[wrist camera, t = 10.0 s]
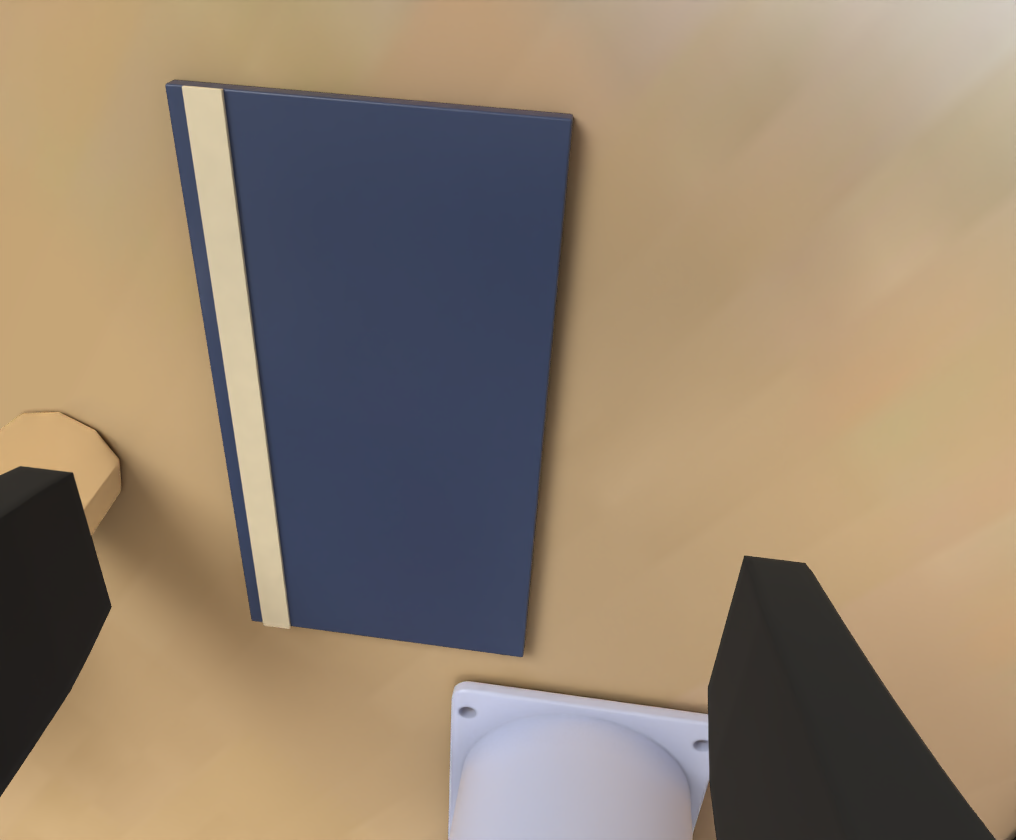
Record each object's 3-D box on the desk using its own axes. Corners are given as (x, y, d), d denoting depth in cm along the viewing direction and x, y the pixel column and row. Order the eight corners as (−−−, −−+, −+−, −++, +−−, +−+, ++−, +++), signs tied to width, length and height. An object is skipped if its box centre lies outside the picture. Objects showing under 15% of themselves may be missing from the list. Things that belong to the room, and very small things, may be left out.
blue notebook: (524, 647, 25) (522, 660, 24) (256, 611, 25) (249, 624, 25) (573, 113, 17) (572, 120, 16) (172, 79, 17) (162, 84, 17)
